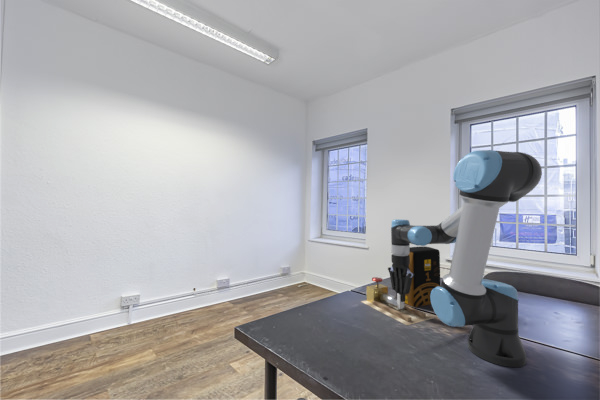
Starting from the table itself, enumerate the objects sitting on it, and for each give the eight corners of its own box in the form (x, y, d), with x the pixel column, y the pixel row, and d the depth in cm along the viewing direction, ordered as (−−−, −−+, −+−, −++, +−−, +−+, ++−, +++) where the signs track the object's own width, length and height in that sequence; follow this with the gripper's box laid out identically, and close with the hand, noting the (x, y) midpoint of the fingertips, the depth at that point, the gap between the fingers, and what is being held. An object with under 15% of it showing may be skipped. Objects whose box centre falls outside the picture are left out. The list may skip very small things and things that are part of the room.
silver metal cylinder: (402, 312, 113) (406, 301, 114) (395, 309, 111) (398, 298, 112) (386, 304, 122) (389, 294, 123) (378, 301, 120) (382, 291, 121)
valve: (387, 301, 125) (387, 278, 125) (373, 304, 121) (373, 281, 121) (376, 296, 132) (376, 275, 132) (362, 298, 128) (362, 276, 128)
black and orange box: (443, 305, 124) (443, 247, 124) (413, 311, 116) (413, 249, 117) (425, 298, 134) (424, 244, 134) (396, 303, 126) (396, 246, 127)
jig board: (434, 321, 106) (434, 314, 106) (407, 329, 99) (407, 321, 99) (385, 299, 131) (384, 293, 131) (360, 304, 124) (360, 298, 124)
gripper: (418, 256, 108) (419, 312, 108) (395, 251, 120) (395, 301, 119) (406, 257, 105) (406, 315, 104) (383, 252, 117) (383, 304, 116)
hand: (400, 308), depth 112 cm, fingers closed
